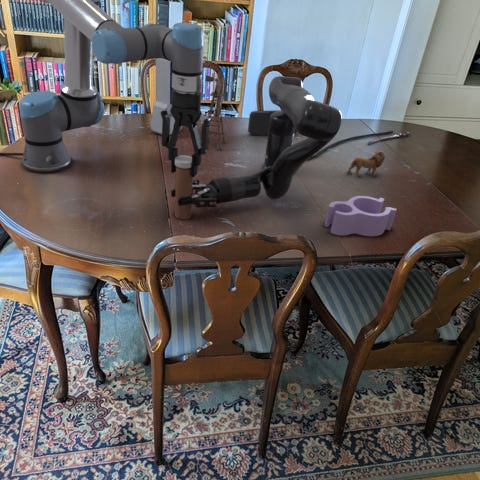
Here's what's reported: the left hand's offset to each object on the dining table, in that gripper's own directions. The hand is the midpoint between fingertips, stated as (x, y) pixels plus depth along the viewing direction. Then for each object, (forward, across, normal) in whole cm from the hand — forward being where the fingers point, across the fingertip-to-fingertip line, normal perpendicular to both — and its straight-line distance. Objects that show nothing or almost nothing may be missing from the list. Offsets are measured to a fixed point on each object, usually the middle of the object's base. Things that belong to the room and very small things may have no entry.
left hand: (184, 173), depth 132 cm
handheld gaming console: (+14, +8, +83) cm, 84 cm away
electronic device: (+14, -33, +62) cm, 71 cm away
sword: (+14, +58, +104) cm, 120 cm away
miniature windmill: (+14, -11, +57) cm, 60 cm away
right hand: (+7, -2, -2) cm, 8 cm away
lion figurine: (+14, +50, +58) cm, 78 cm away
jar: (+14, 0, 0) cm, 14 cm away
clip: (+14, +50, +17) cm, 55 cm away
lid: (-4, 0, 0) cm, 4 cm away
